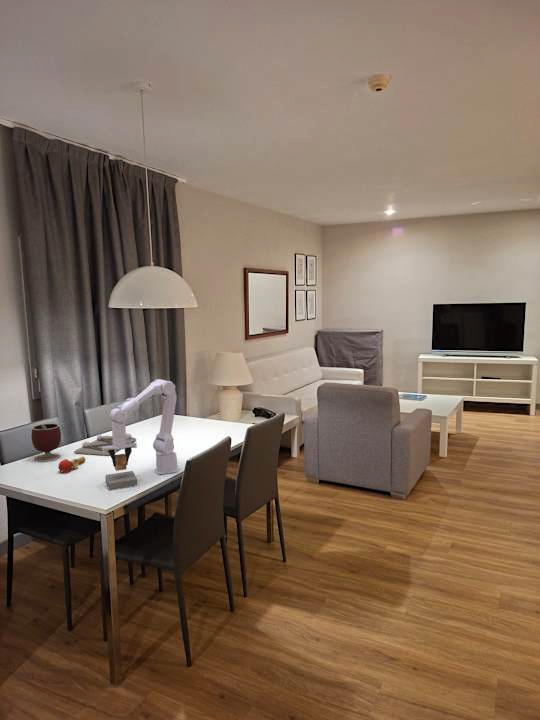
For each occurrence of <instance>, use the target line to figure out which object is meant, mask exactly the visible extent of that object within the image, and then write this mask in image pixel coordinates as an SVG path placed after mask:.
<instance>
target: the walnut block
mask: <svg viewBox="0 0 540 720" xmlns="http://www.w3.org/2000/svg"><path fill="white" fill-rule="evenodd" d="M115 463H116V467H114V470H115V471H116V472H118V471H119V472H120V471H123V470H124V471H126V470H128V467H127V465H126V456H125V453H118V454H115Z"/></svg>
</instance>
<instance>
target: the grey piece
mask: <svg viewBox="0 0 540 720" xmlns="http://www.w3.org/2000/svg"><path fill="white" fill-rule="evenodd" d="M136 441H137V438H135V437H133V436H132V434H131V433H128V432H126V443H132V442H133V443H135V442H136ZM109 445H113V438H112V435H103V434H99V435H97V436H96V439H95V440H93V441H91V442H90V441H88V440H86V441H83V442H82V444H81V447H80V448H77V449H75V451H74V453H75V454H78V455H89V454H90V455H92V456H103V455H104V456H107V457H111V456H110V454H109V452H108V451H106V452H103V451H102V447H105V446H109ZM114 451H115V453H116V452H118V451H119V450H114Z"/></svg>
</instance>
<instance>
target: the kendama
mask: <svg viewBox="0 0 540 720" xmlns="http://www.w3.org/2000/svg"><path fill="white" fill-rule="evenodd" d="M85 462H86V458H85V456H81V457H79V458H78V457H77V458H74V459H72V460H69V459H67V458H66V459H63V460H61V461H59V463H58V465H57V466H58V470H59V472H61V473H63V474H65V473H68V472H70V471H71V470H72V468H73V469H77V468H78V467H79V464H83V463H85Z"/></svg>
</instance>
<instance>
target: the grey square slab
mask: <svg viewBox="0 0 540 720" xmlns="http://www.w3.org/2000/svg"><path fill="white" fill-rule="evenodd" d="M105 482H106V486H107V488H108V490H109V491H114V490H119V488H120V489H125V488H124V487H126V488H131V487H130V486H132V487H136V486H135V485H138V478H137V476H136V474H135V472H134V471H133V470H130V471H121V472H116V473H109V474H105Z"/></svg>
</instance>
